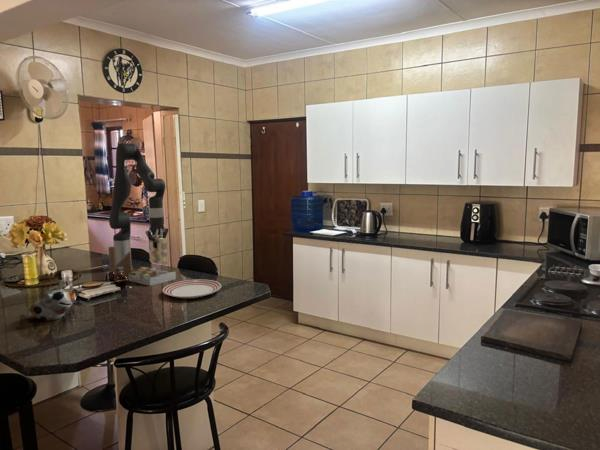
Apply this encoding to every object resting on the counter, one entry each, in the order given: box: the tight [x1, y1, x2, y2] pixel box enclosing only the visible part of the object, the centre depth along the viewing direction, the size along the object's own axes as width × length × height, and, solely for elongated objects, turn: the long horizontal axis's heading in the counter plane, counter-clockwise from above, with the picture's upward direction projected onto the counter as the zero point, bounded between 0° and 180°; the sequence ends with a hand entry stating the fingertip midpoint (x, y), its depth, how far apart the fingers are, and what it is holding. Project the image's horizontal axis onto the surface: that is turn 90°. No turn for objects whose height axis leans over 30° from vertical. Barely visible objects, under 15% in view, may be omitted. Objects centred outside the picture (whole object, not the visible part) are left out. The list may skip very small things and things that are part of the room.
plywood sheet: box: [148, 237, 169, 266], centre depth 240 cm, size 12×2×14 cm, turn 55°
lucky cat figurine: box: [28, 289, 78, 322], centre depth 180 cm, size 15×12×14 cm
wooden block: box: [108, 246, 132, 280], centre depth 239 cm, size 4×11×18 cm, turn 123°
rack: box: [128, 267, 177, 286], centre depth 238 cm, size 18×16×4 cm
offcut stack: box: [135, 266, 160, 279], centre depth 235 cm, size 14×7×6 cm, turn 55°
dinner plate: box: [162, 279, 222, 300], centre depth 213 cm, size 28×27×3 cm
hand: (157, 247), depth 240 cm, fingers closed on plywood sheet, 2 cm apart
